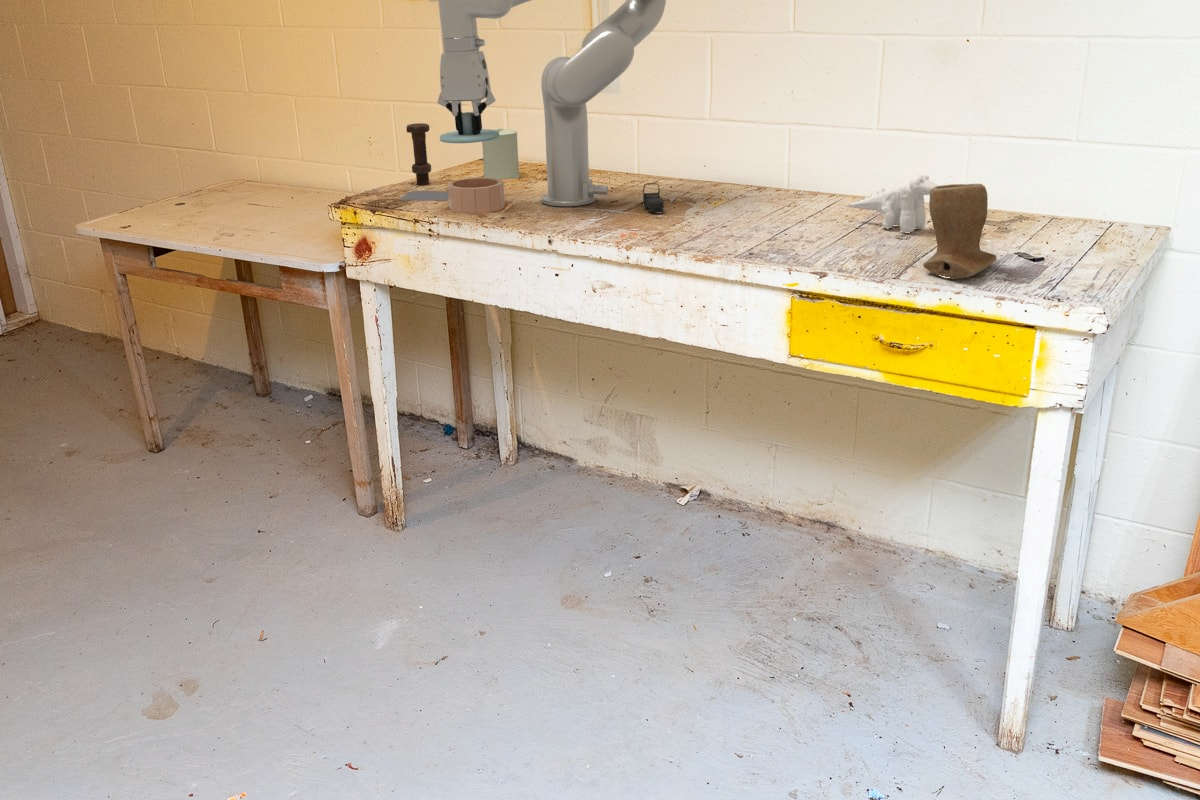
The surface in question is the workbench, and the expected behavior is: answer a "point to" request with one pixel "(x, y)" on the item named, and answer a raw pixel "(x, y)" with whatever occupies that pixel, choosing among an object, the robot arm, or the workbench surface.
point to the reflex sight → (653, 200)
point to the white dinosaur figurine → (901, 204)
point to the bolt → (420, 152)
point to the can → (501, 155)
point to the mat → (426, 196)
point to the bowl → (476, 195)
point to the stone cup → (958, 230)
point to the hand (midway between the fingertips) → (469, 132)
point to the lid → (468, 132)
